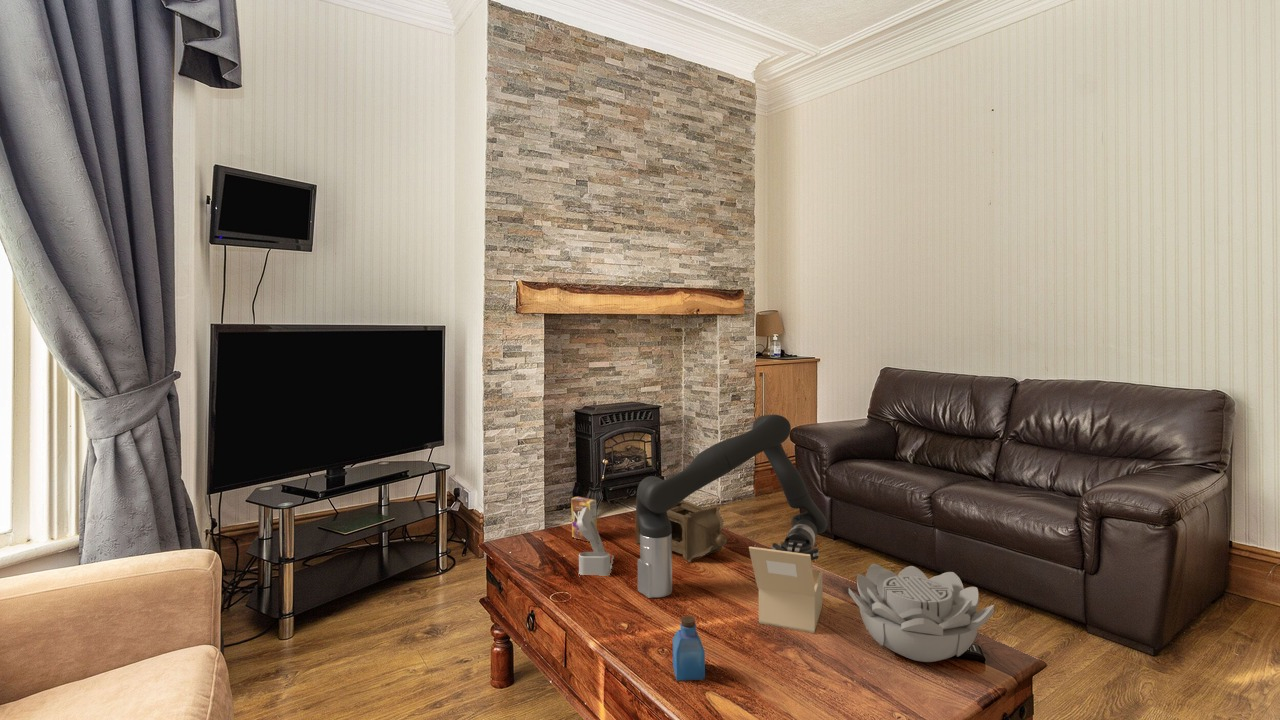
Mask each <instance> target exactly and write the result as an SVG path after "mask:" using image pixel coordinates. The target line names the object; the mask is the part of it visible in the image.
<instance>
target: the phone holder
mask: <svg viewBox="0 0 1280 720" xmlns="http://www.w3.org/2000/svg"><path fill="white" fill-rule="evenodd" d="M577 524H578V527H579V530H580V532H581V534H582V535H583V536H584V537H585V538H587V539H588V540H589V541H590V543H589V544H590V545H591V546H590V547H591V548H592V551H584V552H583V551H582V552H580V553H579V554H578V575H579V574H580V575H599V576H607V575H610V573H611V574H612V570H613V566H612V564H614V561H613V559H614V560H615V556H614V555H613V554H610V553H609V552H607V551H606V549H605V547H604V545H603V541H602V538H601V536H600V534H599V531H598V527H597V528H596V525H595V523H594V520H593V518H592V515H591V512H590V510H589V508H588V507H585V508H583V509H582V511H581V513H580V515H579V517H578V520H577ZM610 556H612V558H611V563H610ZM611 569H612V570H611ZM610 576H611V575H610Z"/></svg>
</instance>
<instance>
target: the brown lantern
mask: <svg viewBox="0 0 1280 720" xmlns="http://www.w3.org/2000/svg"><path fill="white" fill-rule="evenodd" d="M635 501H636V506H635V518H634V519H635V544H636V543H637V544H640V526H639V523H638V517H637V498H636V499H635ZM720 510H721V509H720V507H719V506H716V507H712V508H708V509H707V508H704V507H701V506H700V505H697V504H695V503H694V504H693V503H691V502H689V501H687V500H685V499H683V500H682V501H681V502H679V503H678V504H677V505H675V506H674V507H673V508H671V509H670V510H668V511H667V515H668V518H669V520H670V522H671V526H672V552H675V553H677V554H679V555H682V558H683V559H685V560H686V563H690V564H691V563H692V562H693V561H695V560H697V558H698V559H700V558H702V556H703V557H706V556H708V555H710V554H713V553H718V552H719V551H721V549H723V547H724V546H726V545H727V544H728V540H727V537H726V535H724V534H722V531H723V528H724V524H725V523H724V522H725V521H724V519H723V517H722V516H721V514H720V513H719V511H720ZM712 552H713V553H712ZM707 554H708V555H707ZM692 560H693V561H692Z"/></svg>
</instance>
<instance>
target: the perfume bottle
mask: <svg viewBox="0 0 1280 720" xmlns="http://www.w3.org/2000/svg"><path fill="white" fill-rule="evenodd" d="M680 621H681V622H680V624H679V625H680V627H679V628H680V629H677V631H676V633H675V634H674V635H673V638H672V667H673V670H674V671H673V672H674V675H675V679H676V681H694V680H695V681H697V680H705V679H706V667H705V663H706V661H705V659H706V657H705V655H706V652H705V649H704V645H703V643H702V640H701V637H700V635H699V633H698V631H697V625H696V618H695V617H694V616H689V615H684V616H682V617H681V618H680Z"/></svg>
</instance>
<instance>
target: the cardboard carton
mask: <svg viewBox="0 0 1280 720" xmlns="http://www.w3.org/2000/svg"><path fill="white" fill-rule="evenodd" d="M812 572H813V580H814V588H815V597H814V596H808V595H802V594H795V593H789V592H782V591H776V590H770V589H763V588H758V624H760V625H763V626H764V625H765V626H770V627H775V628H782V629H788V630H793V631H797V632H798V631H799V632H803V631H804V633H808V632H809V634H815V633H816V630H817V627H816V626H818V623H819V620H820V619H819V618H820V615H821V612H822V608H823V570H821V569H820V570H819V569H814V568H812Z"/></svg>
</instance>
